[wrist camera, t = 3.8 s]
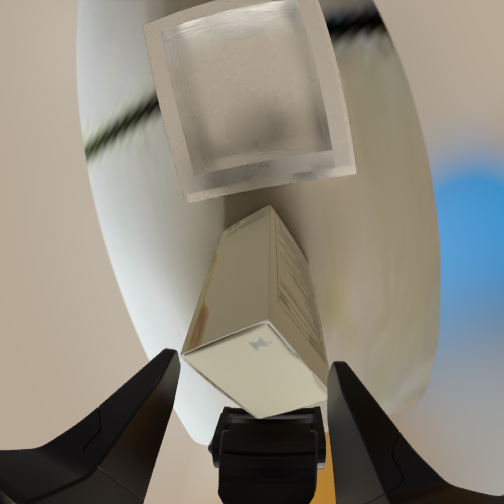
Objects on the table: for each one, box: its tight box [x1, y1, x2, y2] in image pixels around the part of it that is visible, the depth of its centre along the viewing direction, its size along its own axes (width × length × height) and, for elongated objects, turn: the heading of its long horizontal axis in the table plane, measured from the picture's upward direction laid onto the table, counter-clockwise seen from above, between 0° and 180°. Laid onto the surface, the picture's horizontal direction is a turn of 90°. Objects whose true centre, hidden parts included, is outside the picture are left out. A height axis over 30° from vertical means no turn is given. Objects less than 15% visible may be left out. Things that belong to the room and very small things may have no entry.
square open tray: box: [143, 0, 356, 203], centre depth 15 cm, size 14×12×4 cm
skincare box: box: [181, 205, 329, 419], centre depth 16 cm, size 6×4×12 cm
